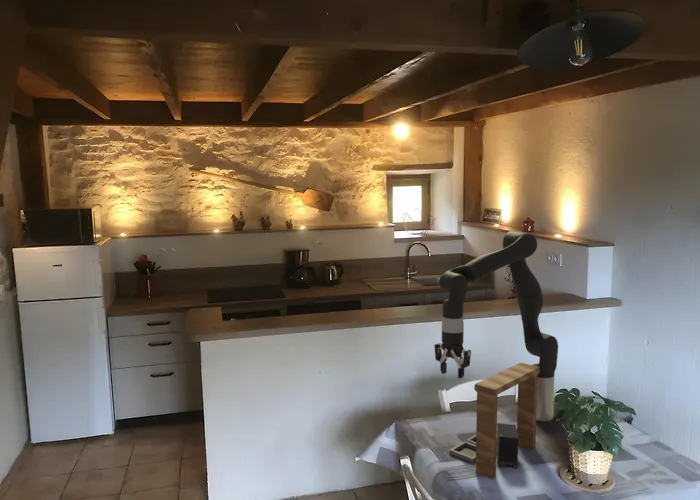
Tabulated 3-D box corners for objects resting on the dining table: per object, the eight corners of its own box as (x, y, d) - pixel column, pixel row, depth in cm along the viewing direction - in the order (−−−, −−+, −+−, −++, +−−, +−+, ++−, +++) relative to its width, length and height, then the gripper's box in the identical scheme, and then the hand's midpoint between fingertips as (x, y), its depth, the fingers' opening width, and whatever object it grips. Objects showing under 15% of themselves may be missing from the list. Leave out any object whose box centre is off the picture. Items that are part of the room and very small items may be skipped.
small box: (518, 469, 178) (519, 437, 177) (497, 467, 179) (498, 436, 178) (515, 453, 188) (516, 424, 187) (495, 452, 189) (496, 422, 188)
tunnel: (518, 442, 196) (520, 362, 193) (537, 448, 191) (539, 367, 188) (473, 472, 176) (474, 384, 172) (493, 480, 171) (494, 389, 168)
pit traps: (480, 435, 201) (480, 431, 201) (502, 443, 195) (502, 439, 195) (449, 454, 188) (449, 449, 188) (472, 463, 182) (472, 458, 182)
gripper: (476, 330, 192) (475, 377, 194) (441, 323, 202) (441, 368, 204) (464, 335, 187) (463, 383, 188) (429, 327, 197) (429, 373, 199)
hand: (452, 375), depth 196 cm, fingers open, 6 cm apart
